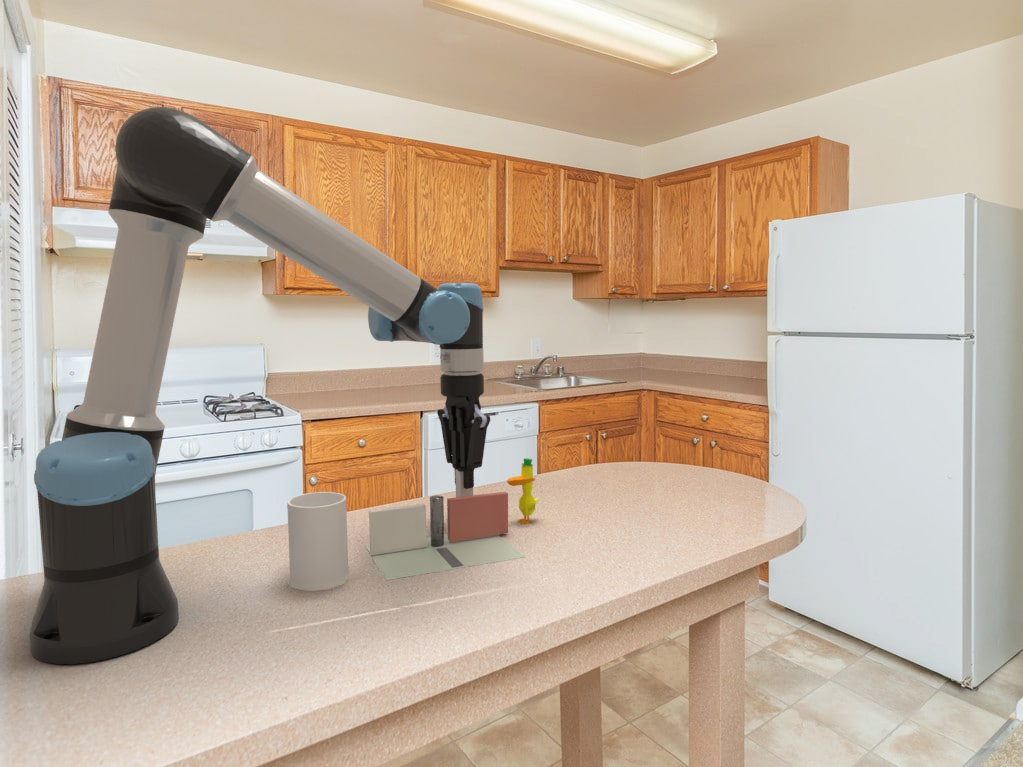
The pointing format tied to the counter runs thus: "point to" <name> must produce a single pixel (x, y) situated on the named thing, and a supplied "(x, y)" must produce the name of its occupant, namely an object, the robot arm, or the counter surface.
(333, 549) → the mug
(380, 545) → the fixed panel
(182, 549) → the counter surface
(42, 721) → the counter surface
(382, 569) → the card
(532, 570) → the counter surface
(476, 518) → the red panel
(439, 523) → the post
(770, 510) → the counter surface
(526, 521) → the toy figure
